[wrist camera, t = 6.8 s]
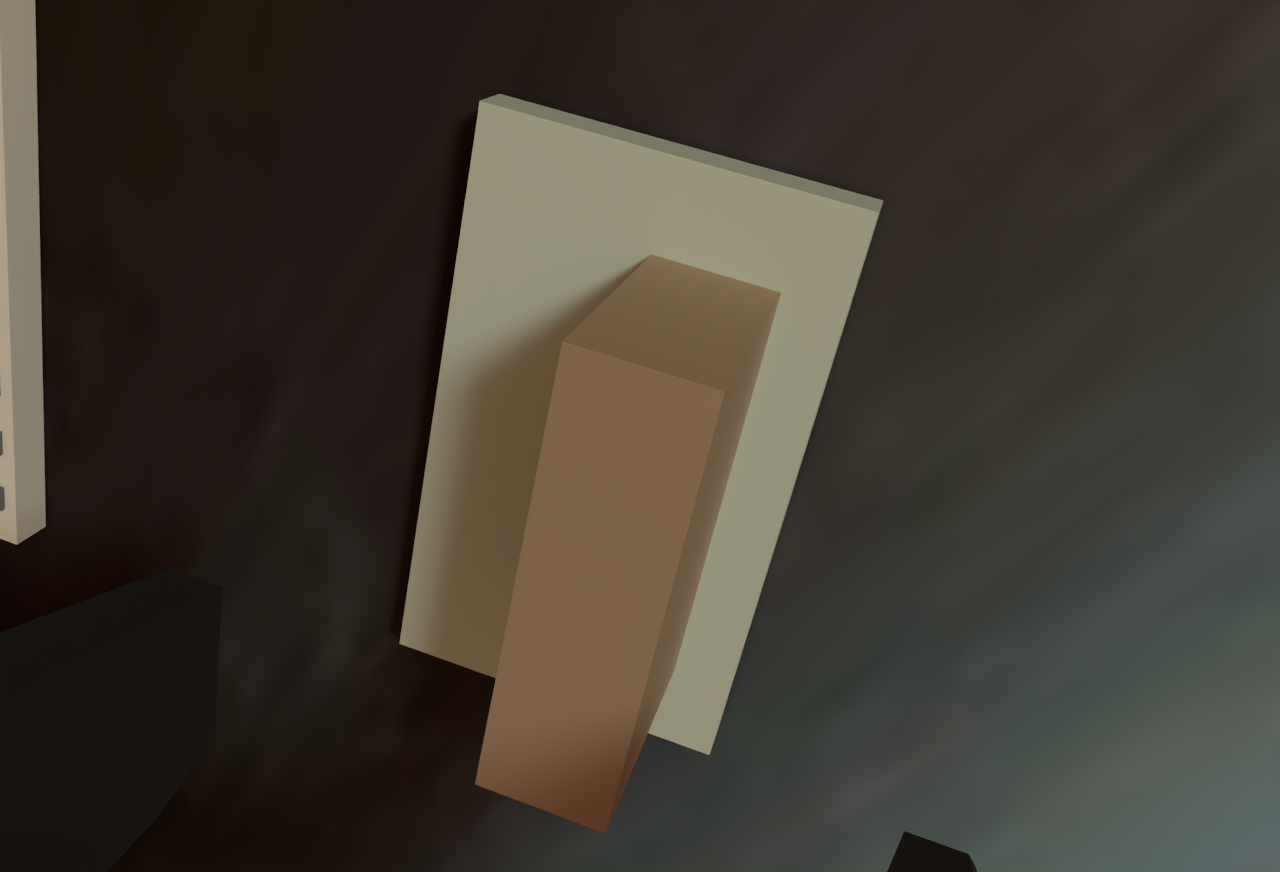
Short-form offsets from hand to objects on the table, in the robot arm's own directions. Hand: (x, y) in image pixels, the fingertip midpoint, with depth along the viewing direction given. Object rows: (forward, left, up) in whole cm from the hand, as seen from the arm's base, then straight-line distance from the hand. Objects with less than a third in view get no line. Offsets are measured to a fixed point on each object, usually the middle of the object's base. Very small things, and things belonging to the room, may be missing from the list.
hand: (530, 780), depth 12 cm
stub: (0, +2, -9) cm, 9 cm away
